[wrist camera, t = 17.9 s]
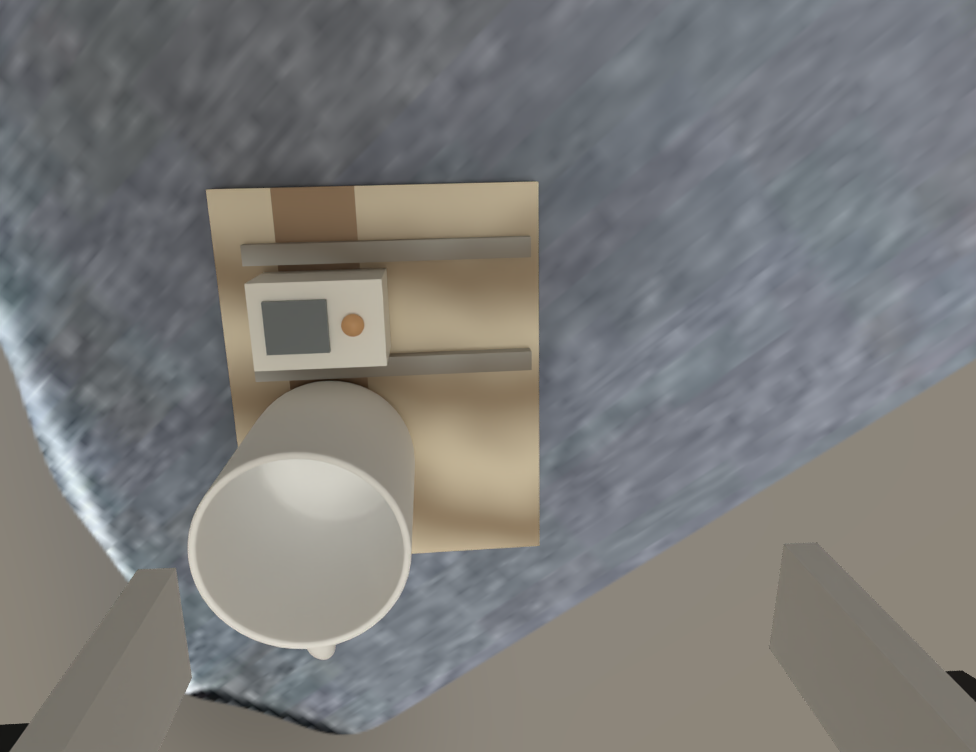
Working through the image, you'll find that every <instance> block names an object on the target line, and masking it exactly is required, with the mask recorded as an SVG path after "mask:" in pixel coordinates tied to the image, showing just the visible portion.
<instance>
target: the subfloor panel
mask: <svg viewBox="0 0 976 752" xmlns="http://www.w3.org/2000/svg"><path fill="white" fill-rule="evenodd" d="M206 195H207V203H208V211H209V219H210V227H211V235H212V243H213V251H214V259H215V267H216V275H217V283H218V291H219V299H220V307H221V315H222V323H223V331H224V339H225V347H226V355H227V363H228V371H229V379H230V387H231V395H232V403H233V411H234V419H235V427H236V435H237V443H238V447H239V445H240V444H241V443H242V441H243V440H244V438H245V437H246V435H247V434H248V432H249V431H250V430H251V428H252V427H253V425H254V424H255V422H256V421H257V420H258V418H259V417H260V416H261V415H262V413H263V412H264V411H265V410H266V409H267V408H268V407H269V406H270V405H271V404H272V403H273V402H274V401H275V400H276V399H278V398H279V397H280V396H282V395H283V394H285V393H287V392H289V391H291V390H292V389H294V388H297V387H299V386H302V385H305V384H308V383H313V382H318V381H343V382H349V383H353V384H356V385H360V386H362V387H365V388H367V389H369V390H371V391H373V392H375V393H376V394H378V395H380V396H381V397H382V398H384V399H385V400H386V401H387V402H388V403H389V404H390V405H391V406H392V407H393V408H394V409H395V410H396V411H397V412H398V414H399V415H400V416H401V418H402V419H403V421H404V423H405V425H406V426H407V428H408V431H409V433H410V436H411V439H412V443H413V447H414V456H415V476H414V501H413V526H412V551H411V554H413V553H429V552H446V551H462V550H478V549H494V548H511V547H527V546H539V219H538V182H493V183H451V184H409V185H366V186H324V187H282V188H240V189H207V190H206ZM377 268H386V269H387V286H388V303H389V319H390V336H391V349H390V354H389V359H388V364H387V366H372V367H349V368H325V369H301V370H278V371H254V364H253V356H252V347H251V338H250V329H249V321H248V312H247V303H246V295H245V286H244V284H245V283H247V282H248V281H250V280H252V279H253V278H255V277H257V276H258V275H260V274H262V273H263V272H284V271H315V270H346V269H377Z"/></svg>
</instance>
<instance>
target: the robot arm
mask: <svg viewBox="0 0 976 752" xmlns="http://www.w3.org/2000/svg"><path fill="white" fill-rule="evenodd" d="M769 649H770V650H771V652H772V653H773V655H774V656H775V657H776V659H777V660H778V662H779V663H780V665H781V666H782V668H783V669H784V671H785V672H786V674H787V675H788V677H789V678H790V679H791V681H792V682H793V684H794V685H795V687H796V688H797V690H798V691H799V693H800V694H801V696H802V697H803V698H804V700H805V701H806V703H807V704H808V706H809V707H810V709H811V710H812V711H813V713H814V715H815V716H816V717H817V719H818V720H819V722H820V723H821V725H822V726H823V727H824V729H825V731H826V732H827V733H828V735H829V736H830V738H831V739H832V741H833V742H834V744H835V745H836V747H837V748H838V750H839V751H840V752H976V679H975V678H974V677H972V676H970V675H969V674H967V673H965V672H964V671H944V670H943V669H942V668H941V667H940V666H939V665H938V664H937V663H936V662H935V661H934V660H933V659H932V658H931V657H930V656H929V655H928V654H927V653H926V652H925V651H924V650H923V649H922V648H921V647H920V646H919V645H918V644H917V643H916V642H915V641H914V640H913V639H912V638H911V637H910V636H909V634H908V633H907V632H906V631H905V630H903V629H902V627H901V626H900V625H899V624H898V623H897V622H895V621H894V620H893V618H892V617H891V616H890V615H889V614H887V612H886V611H885V610H884V609H882V608H881V606H879V604H877V602H876V601H875V600H874V599H873V598H872V597H870V595H869V594H868V593H867V592H866V591H865V590H864V589H863V588H862V587H861V586H860V585H859V584H858V583H857V582H856V581H855V580H854V579H853V578H852V577H851V576H850V575H849V574H848V573H847V572H846V571H845V570H844V569H843V568H842V567H841V566H840V565H839V564H838V563H837V562H836V561H835V560H834V559H833V558H832V557H831V556H830V555H829V554H828V553H827V552H826V551H825V550H824V549H823V548H822V547H821V546H820V545H819V544H818V543H791V544H784V546H783V553H782V560H781V568H780V574H779V582H778V589H777V596H776V603H775V610H774V617H773V625H772V632H771V639H770V646H769ZM191 678H192V675H191V669H190V662H189V655H188V648H187V641H186V634H185V628H184V621H183V614H182V607H181V600H180V593H179V586H178V580H177V573H176V568H163V569H138V570H137V571H136V573H135V574H134V576H133V577H132V579H131V580H130V581H129V583H128V584H127V586H126V587H125V589H124V590H123V591H122V593H121V594H120V596H119V597H118V598H117V600H116V601H115V603H114V604H113V606H112V607H111V608H110V610H109V611H108V613H107V614H106V615H105V617H104V618H103V620H102V621H101V623H100V624H99V625H98V627H97V628H96V630H95V631H94V632H93V634H92V635H91V637H90V638H89V640H88V641H87V643H86V644H85V645H84V647H83V648H82V650H81V651H80V652H79V654H78V655H77V657H76V658H75V660H74V661H73V662H72V664H71V665H70V667H69V668H68V669H67V671H66V672H65V674H64V675H63V676H62V678H61V679H60V681H59V682H58V684H57V685H56V687H55V688H54V689H53V691H52V692H51V694H50V695H49V696H48V698H47V699H46V701H45V702H44V703H43V705H42V706H41V708H40V709H39V711H38V712H37V713H36V715H35V716H34V718H33V719H32V721H31V722H30V723H24V724H5V725H0V752H158V751H159V748H160V746H161V744H162V742H163V740H164V738H165V735H166V733H167V731H168V729H169V727H170V724H171V722H172V720H173V718H174V716H175V713H176V711H177V709H178V707H179V704H180V702H181V700H182V698H183V696H184V694H185V692H186V689H187V687H188V685H189V683H190V681H191Z"/></svg>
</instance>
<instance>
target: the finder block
mask: <svg viewBox="0 0 976 752" xmlns="http://www.w3.org/2000/svg"><path fill="white" fill-rule="evenodd" d="M244 286H245V295H246V303H247V312H248V321H249V329H250V338H251V347H252V356H253V364H254V371H278V370H301V369H325V368H349V367H372V366H387V364H388V359H389V354H390V349H391V336H390V319H389V303H388V286H387V269H386V268H377V269H346V270H315V271H284V272H263V273H262V274H260V275H258V276H257V277H255V278H253V279H252V280H250V281H248V282H247V283H245V284H244Z"/></svg>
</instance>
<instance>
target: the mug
mask: <svg viewBox="0 0 976 752" xmlns="http://www.w3.org/2000/svg"><path fill="white" fill-rule="evenodd" d="M414 476H415V456H414V447H413V443H412V439H411V436H410V433H409V431H408V428H407V426H406V425H405V423H404V421H403V419H402V418H401V416H400V415H399V414H398V412H397V411H396V410H395V409H394V408H393V407H392V406H391V405H390V404H389V403H388V402H387V401H386V400H385V399H384V398H382V397H381V396H380V395H378V394H376V393H375V392H373V391H371V390H369V389H367V388H365V387H362V386H360V385H356V384H353V383H349V382H343V381H318V382H313V383H308V384H305V385H302V386H299V387H297V388H294V389H292V390H291V391H289V392H287V393H285V394H283V395H282V396H280V397H279V398H278V399H276V400H275V401H274V402H273V403H272V404H271V405H270V406H269V407H268V408H267V409H266V410H265V411H264V412H263V413H262V415H261V416H260V417H259V418H258V420H257V421H256V422H255V424H254V425H253V427H252V428H251V430H250V431H249V432H248V434H247V435H246V437H245V438H244V440H243V441H242V443H241V444H240V445H239V447H238V448H237V450H236V451H235V453H234V454H233V456H232V457H231V458H230V460H229V461H228V463H227V464H226V466H225V467H224V468H223V470H222V471H221V473H220V474H219V476H218V477H217V479H216V480H215V481H214V483H213V484H212V486H211V487H210V489H209V490H208V492H207V493H206V494H205V496H204V498H203V499H202V501H201V502H200V504H199V506H198V507H197V510H196V512H195V514H194V517H193V519H192V522H191V526H190V530H189V537H188V560H189V565H190V569H191V573H192V576H193V579H194V582H195V585H196V587H197V588H198V590H199V592H200V594H201V596H202V598H203V599H204V600H205V602H206V603H207V605H208V606H209V607H210V608H211V609H212V611H213V612H214V613H215V614H216V615H217V616H218V617H219V618H220V619H222V620H223V621H224V622H225V623H226V624H228V625H229V626H230V627H232V628H233V629H235V630H236V631H238V632H240V633H241V634H243V635H245V636H247V637H249V638H251V639H254V640H256V641H259V642H262V643H265V644H268V645H273V646H277V647H283V648H291V649H307V650H308V651H309V652H310V654H311V655H313V656H314V657H316V658H318V659H322V660H325V659H328V658H330V657H331V656H332V655H333V654H334V651H335V646H336V644H338V643H341V642H344V641H347V640H349V639H351V638H353V637H356V636H358V635H360V634H361V633H363V632H365V631H366V630H368V629H369V628H371V627H372V626H373V625H375V624H376V623H377V622H378V621H379V620H381V619H382V618H383V617H384V616H385V615H386V613H387V612H388V611H389V610H390V609H391V608H392V607H393V605H394V604H395V602H396V601H397V599H398V598H399V596H400V594H401V592H402V590H403V588H404V586H405V584H406V581H407V578H408V575H409V570H410V565H411V551H412V526H413V501H414Z"/></svg>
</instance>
